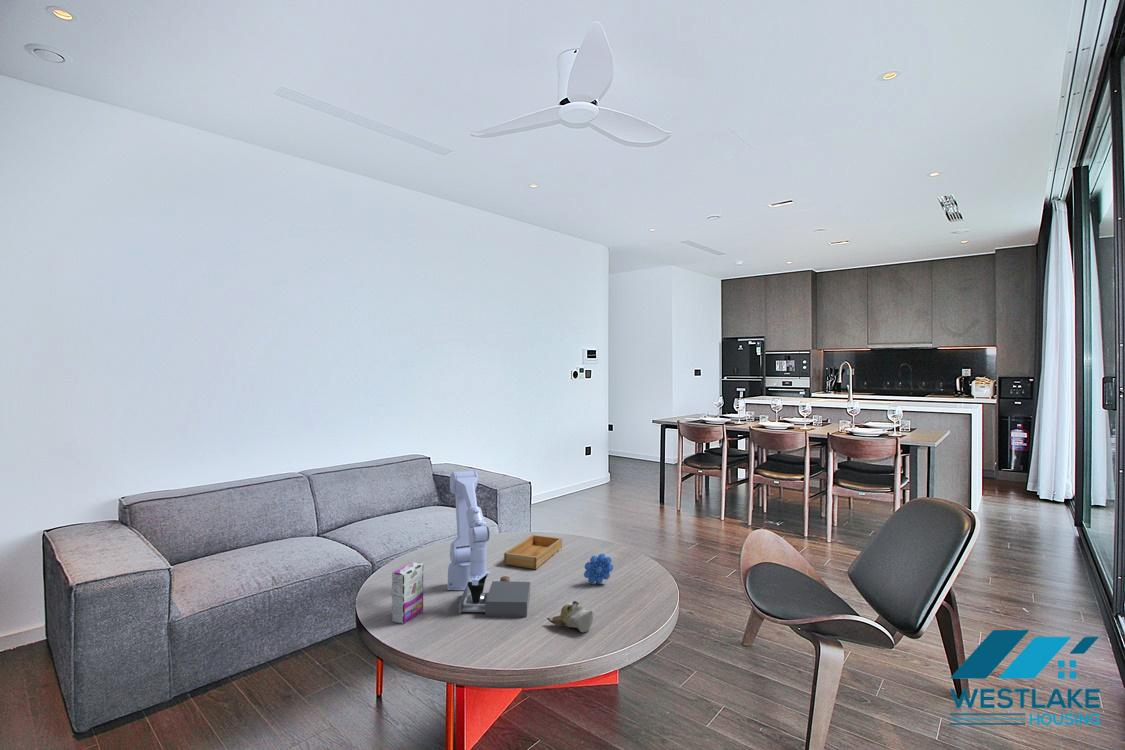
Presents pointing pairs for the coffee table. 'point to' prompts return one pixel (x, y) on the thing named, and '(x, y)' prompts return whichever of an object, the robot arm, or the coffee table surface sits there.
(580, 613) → the ceramic sculpture
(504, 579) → the walnut disc stand
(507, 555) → the tray
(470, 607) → the tray
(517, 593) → the player housing
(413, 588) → the candy bar box
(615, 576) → the coffee table surface
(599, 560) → the blue flower shape
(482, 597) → the silver disc
